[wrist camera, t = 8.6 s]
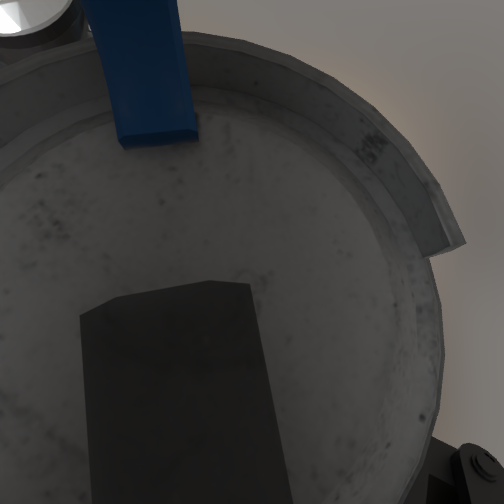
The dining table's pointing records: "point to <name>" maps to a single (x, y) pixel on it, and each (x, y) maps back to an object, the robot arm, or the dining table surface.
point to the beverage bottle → (210, 276)
